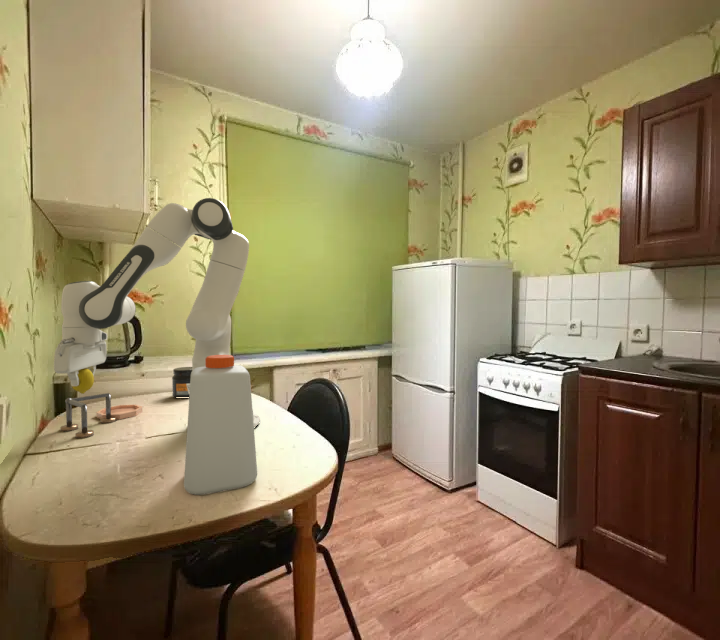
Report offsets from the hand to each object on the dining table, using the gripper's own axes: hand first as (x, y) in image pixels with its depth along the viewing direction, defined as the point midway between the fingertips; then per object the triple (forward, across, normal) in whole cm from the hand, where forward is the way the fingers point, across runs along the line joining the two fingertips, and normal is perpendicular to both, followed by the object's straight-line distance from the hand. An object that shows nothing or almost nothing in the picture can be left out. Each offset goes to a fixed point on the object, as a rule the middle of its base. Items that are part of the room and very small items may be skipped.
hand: (82, 383), depth 110 cm
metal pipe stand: (+16, +8, +3) cm, 18 cm away
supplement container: (+16, +48, -15) cm, 53 cm away
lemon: (+3, 0, 0) cm, 3 cm away
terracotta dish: (+16, +23, 0) cm, 28 cm away
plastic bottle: (+16, -33, -46) cm, 59 cm away
